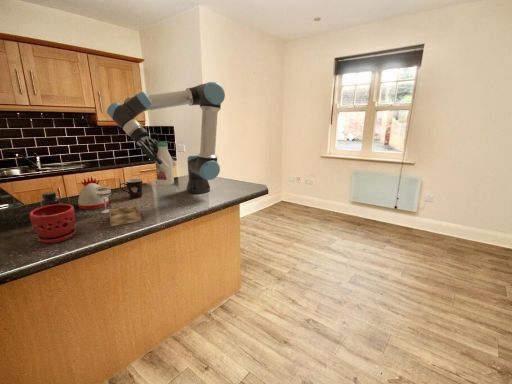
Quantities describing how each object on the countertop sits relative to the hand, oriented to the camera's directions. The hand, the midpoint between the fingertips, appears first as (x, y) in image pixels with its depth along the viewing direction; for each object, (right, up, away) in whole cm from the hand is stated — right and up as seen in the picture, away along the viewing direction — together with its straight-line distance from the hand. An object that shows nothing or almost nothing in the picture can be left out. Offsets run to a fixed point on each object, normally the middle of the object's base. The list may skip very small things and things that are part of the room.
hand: (171, 166), depth 123 cm
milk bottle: (-4, -8, +3) cm, 9 cm away
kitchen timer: (-46, -19, +14) cm, 52 cm away
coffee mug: (-32, -15, +28) cm, 45 cm away
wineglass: (-34, -22, +4) cm, 41 cm away
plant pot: (-35, -30, -25) cm, 53 cm away
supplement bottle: (-52, -24, -5) cm, 58 cm away
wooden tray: (-20, -25, -5) cm, 32 cm away
